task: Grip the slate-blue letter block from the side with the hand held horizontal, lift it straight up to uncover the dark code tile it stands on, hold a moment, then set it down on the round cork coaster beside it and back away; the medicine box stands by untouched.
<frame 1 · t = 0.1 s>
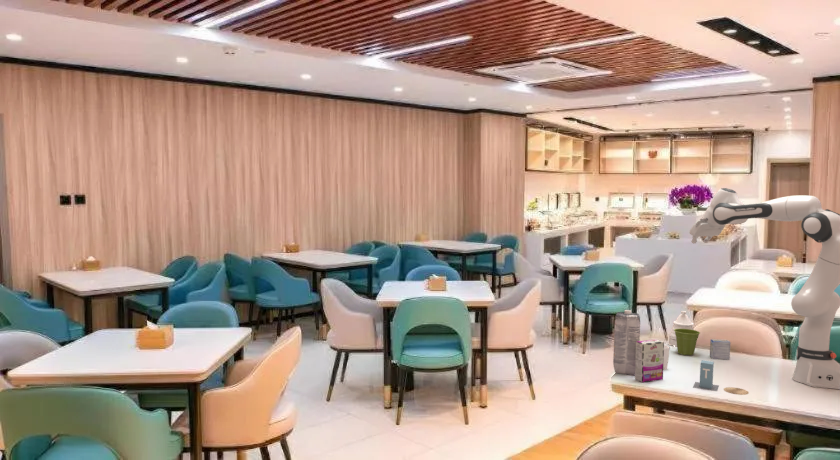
hand: (699, 242, 319), 54 cm above the table, tool tilted 30°, fingers open, 8 cm apart
candy bar box: (648, 380, 273), on the table
code tile: (705, 387, 264), on the table
medicine box: (719, 358, 311), on the table
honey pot: (682, 345, 336), on the table
white cup: (659, 368, 291), on the table
letter block: (706, 386, 264), resting on code tile
juice carton: (625, 372, 284), on the table
plant pot: (685, 354, 318), on the table
coaster: (736, 391, 259), on the table
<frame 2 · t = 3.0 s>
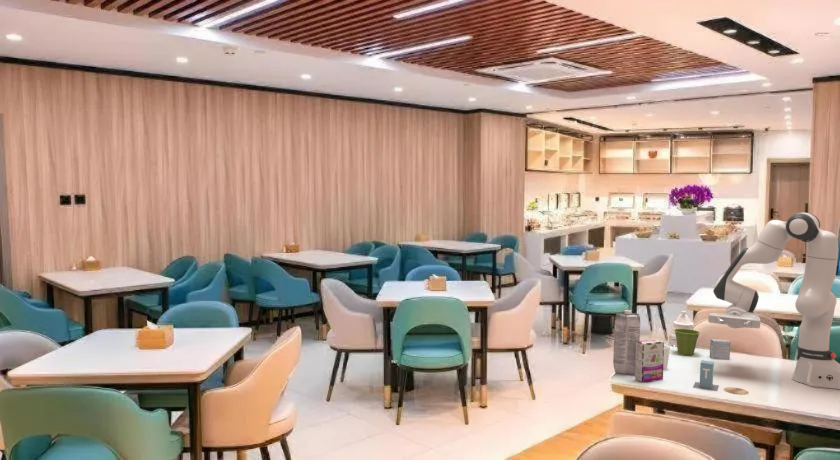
hand: (733, 323, 274), 24 cm above the table, tool horizontal, fingers open, 8 cm apart
nothing on the table moved.
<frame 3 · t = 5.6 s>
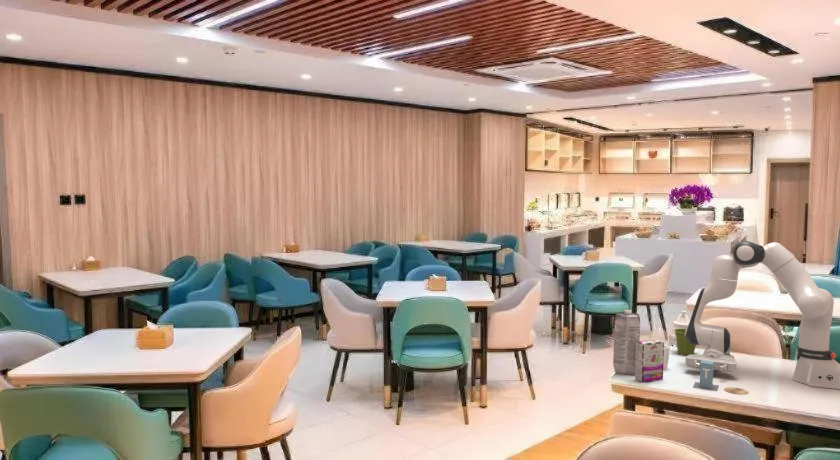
hand: (709, 367, 274), 6 cm above the table, tool horizontal, fingers open, 8 cm apart
nothing on the table moved.
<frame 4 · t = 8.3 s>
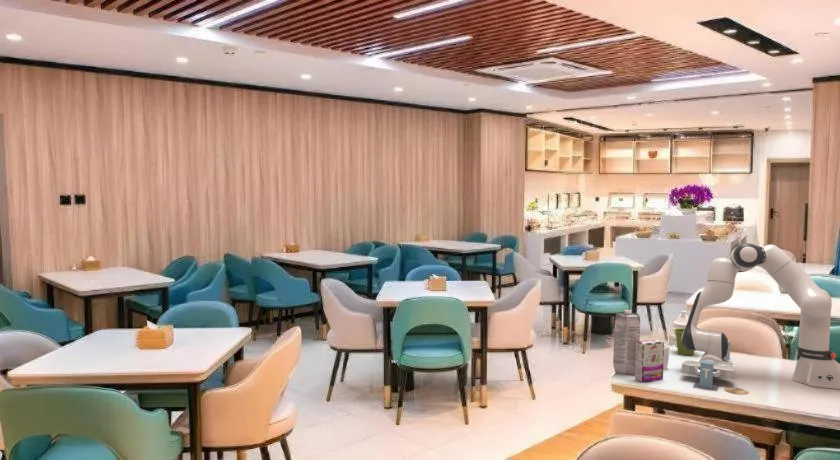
hand: (706, 374, 264), 6 cm above the table, tool horizontal, fingers closed on letter block, 4 cm apart
letter block: (706, 386, 264), resting on code tile, touching gripper
everything else where it was.
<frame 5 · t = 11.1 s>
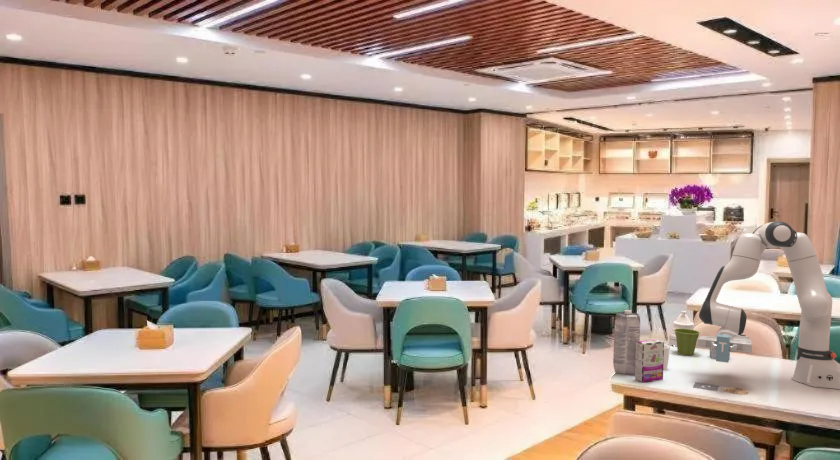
hand: (723, 348, 260), 17 cm above the table, tool horizontal, fingers closed on letter block, 4 cm apart
letter block: (722, 360, 261), point 12 cm above the table, touching gripper
everything else where it was.
when the fingers open (7 cm above the table, at t = 13.9 s): letter block drops 1 cm, resting on coaster.
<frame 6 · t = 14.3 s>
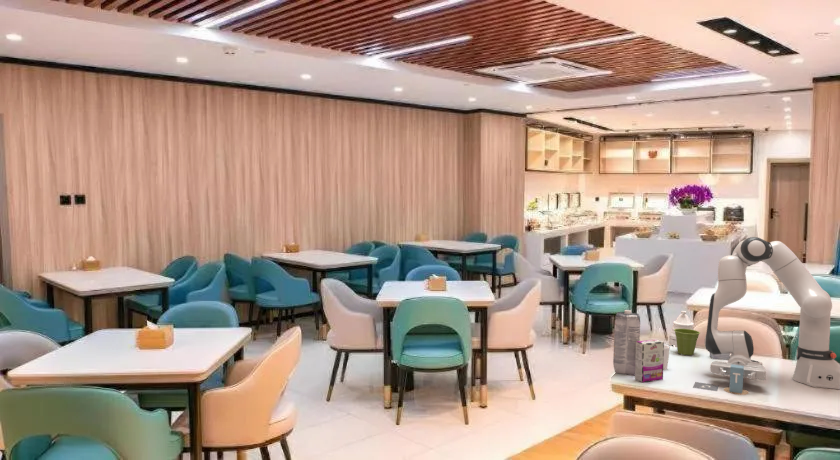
hand: (736, 375, 258), 7 cm above the table, tool horizontal, fingers open, 8 cm apart
letter block: (735, 391, 258), resting on coaster
everything else where it was.
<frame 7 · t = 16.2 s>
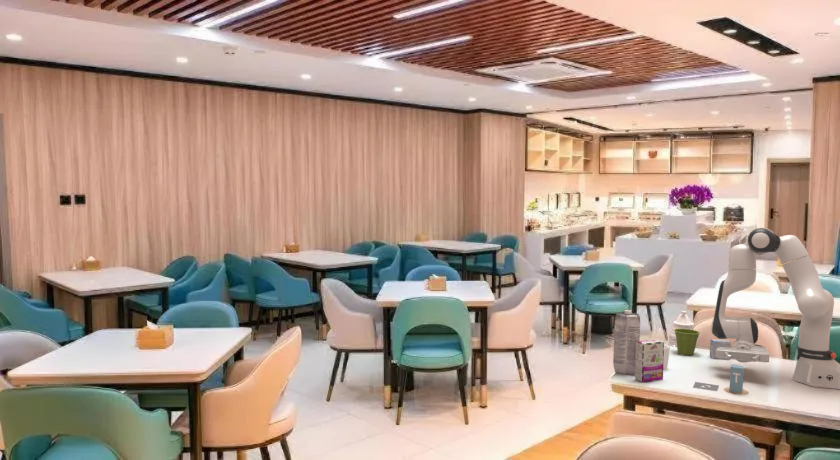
hand: (741, 358, 269), 11 cm above the table, tool horizontal, fingers open, 8 cm apart
nothing on the table moved.
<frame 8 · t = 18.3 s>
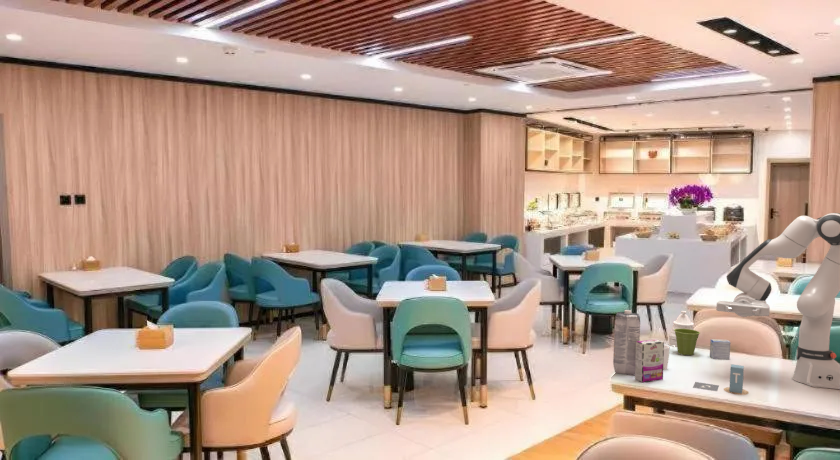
hand: (741, 311, 270), 30 cm above the table, tool horizontal, fingers open, 8 cm apart
nothing on the table moved.
at the end: letter block inside the target area on the coaster (0.5 cm from its centre), point 0.4 cm above the coaster's base; letter block tilted 0°; letter block moved 11.0 cm from its start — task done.
